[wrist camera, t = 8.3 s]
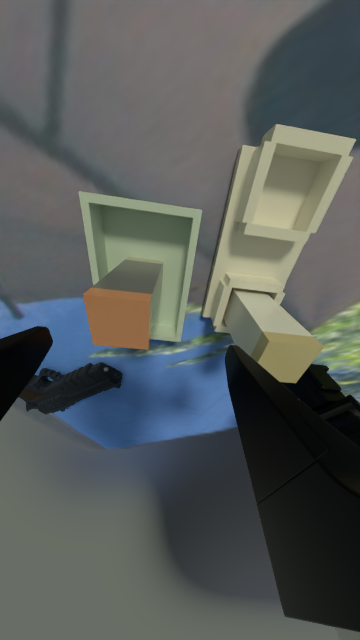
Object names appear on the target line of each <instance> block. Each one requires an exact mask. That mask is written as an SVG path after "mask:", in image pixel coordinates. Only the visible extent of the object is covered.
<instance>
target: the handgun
mask: <svg viewBox="0 0 360 640" xmlns="http://www.w3.org/2000/svg"><path fill="white" fill-rule="evenodd" d="M43 375H44V376H48V377H50V378H51V379H53V380H54V381H49V380H46V379H45V378H44V377H43ZM121 380H122V373H121V372H119V371H118V370H116V369H114V368H112V367H111V366H108V365H106V364H104V363H98V364H96V365H92V364H91V363H89V364H87V365H86V366H84V367H81V368H79V369H78V370H74V371H73V372H72V373H71V372H70V373H68V374H66V375H64V376H62V375H58V374H57V372H53V370H50V371H48V370H47V369H46V368H43V369H42V370H41V371H40V374H39V376H36V375H34V376H33V377H32V379H31V380H30V381H29V383H28V384H27V385H26V387H25V388H24V389H23V391H22V392H21V394H20V395H19V396H18V397H19V398H21V399H23V400H24V401H25V402H26V410H27V411H29V410H31V409H39V411H40V412H42V413H44V414H48V413H54V412H57V411H59V410H60V411H62V412H63V411H65V409H66V408H67V407H69V406H71V405H74V404H75V402H77V401H80V400H82V399H85V398H87V397H90V396H92V395H95V394H97V393H100V392H102V391H106V390H108V389H111V388H113V387H116V388H120V386H121V384H120V383H121Z"/></svg>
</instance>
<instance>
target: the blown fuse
mask: <svg viewBox="0 0 360 640" xmlns="http://www.w3.org/2000/svg"><path fill="white" fill-rule="evenodd" d="M163 265H164V261H159V260H151V259H143V258H134V257H127V258H126V259H125V260H124V261H123V262H121V263H120V264H119V265H118V266H117V267H115V268H114V269H113V270H112V271H111V272H109V273H108V274H107V275H106V276H104V277H103V278H102V279H101V280H100V281H98V282H97V283H96V284H95V285H94V286H92V287H91V288H90V289H89V290H88V291H86V292H85V293H84V294H83V298H84V302H85V307H86V312H87V317H88V322H89V327H90V331H91V336H92V341H93V345H100V346H111V347H122V348H134V349H145V350H149V345H150V341H151V337H152V333H153V328H154V324H155V320H156V316H157V311H158V307H159V303H160V298H161V294H162V280H163Z"/></svg>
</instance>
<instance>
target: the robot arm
mask: <svg viewBox="0 0 360 640" xmlns="http://www.w3.org/2000/svg"><path fill="white" fill-rule="evenodd" d="M52 344H53V340H52V337H51V334H50V331H49V329H48V328H47V327H41V326H37V327H33V328H31V329H28V330H25V331H22V332H19V333H16V334H13V335H10V336H7V337H5V338H2V339H0V421H1V419H2V418H3V417H4V415H5V414H6V413H7V411H8V410H9V409H10V407H11V406H12V404H13V403H14V402H15V400H16V399H17V398H18V396H19V395H20V394H21V392H22V391H23V389H24V388H25V387H26V385H27V384H28V383H29V381H30V380H31V379H32V377H33V376H34V374H35V373H36V371H37V370H38V368H39V366H40V365H41V363H42V361H43V360H44V358H45V356H46V355H47V353H48V351H49V349H50V348H51V346H52ZM225 366H226V374H227V381H228V388H229V393H230V397H231V401H232V405H233V409H234V413H235V417H236V421H237V425H238V429H239V433H240V438H241V441H242V446H243V450H244V454H245V458H246V462H247V466H248V470H249V474H250V478H251V482H252V486H253V490H254V494H255V498H256V502H257V507H258V511H259V515H260V519H261V523H262V527H263V532H264V536H265V540H266V544H267V548H268V552H269V556H270V560H271V564H272V568H273V572H274V576H275V581H276V585H277V588H278V593H279V597H280V601H281V605H282V608H283V612H284V615H285V617H289V618H294V619H298V620H303V621H309V622H313V623H318V624H323V625H328V626H333V627H335V628H336V631H337V634H338V636H339V639H340V640H360V403H359V402H358V401H357V400H356V399H355V398H354V397H353V396H351V395H348V396H346V397H345V396H344V395H343V394H342V392H341V387H340V386H339V385H338V384H337V383H336V382H335V381H334V380H333V379H332V378H331V377H330V375H329V374H328V373H327V371H328V370H329V368H328V367H327V366H324V365H313V364H310V366H309V367H308V368H307V370H306V371H305V372H304V373H303V375H302V376H301V377H300V379H299V380H298V381H297V383H287V382H279V381H278V380H277V379H276V378H275V377H274V376H272V375H271V374H270V373H269V372H268V371H267V370H266V369H264V368H263V367H262V366H261V365H260V364H259V363H257V362H256V361H255V360H254V359H253V358H252V357H251V356H249V355H248V354H247V353H246V352H245V351H244V350H242V349H241V348H240V347H239V346H237V345H230V346H229V347H228V350H227V353H226V356H225Z"/></svg>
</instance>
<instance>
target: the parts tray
mask: <svg viewBox="0 0 360 640" xmlns="http://www.w3.org/2000/svg"><path fill="white" fill-rule="evenodd" d="M79 197H80V203H81V209H82V216H83V222H84V228H85V235H86V241H87V248H88V254H89V260H90V267H91V273H92V280H93V286H94V285H95V284H96V283H97V282H98V281H100V280H101V279H102V278H103V277H104V276H106V275H107V274H108V273H109V272H111V271H112V270H113V269H114V268H115V267H117V266H118V265H119V264H120V263H121V262H123V261H124V260H125V259H126V258H127V257H134V258H143V259H151V260H159V261H164V265H163V280H162V294H161V298H160V303H159V307H158V311H157V316H156V320H155V324H154V328H153V333H152V337H151V339H155V340H165V341H175V342H181V336H182V330H183V324H184V318H185V312H186V305H187V299H188V293H189V287H190V281H191V275H192V269H193V263H194V257H195V251H196V245H197V239H198V233H199V227H200V221H201V215H202V210H199V209H192V208H186V207H179V206H173V205H166V204H160V203H153V202H146V201H140V200H133V199H127V198H120V197H114V196H107V195H101V194H94V193H87V192H81V191H79Z"/></svg>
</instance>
